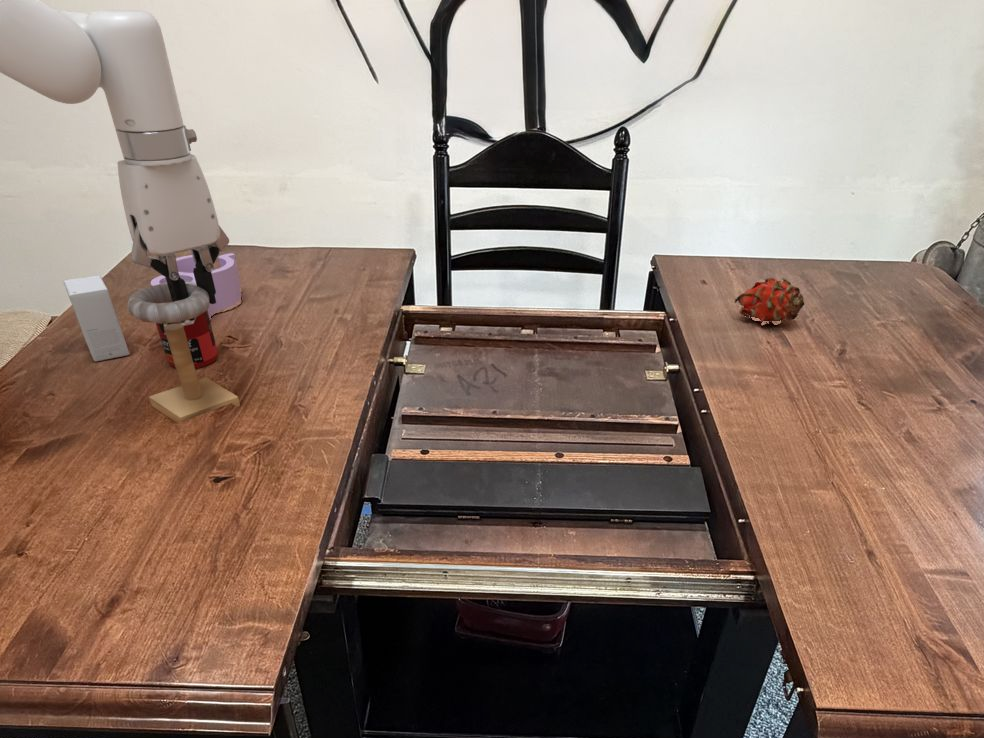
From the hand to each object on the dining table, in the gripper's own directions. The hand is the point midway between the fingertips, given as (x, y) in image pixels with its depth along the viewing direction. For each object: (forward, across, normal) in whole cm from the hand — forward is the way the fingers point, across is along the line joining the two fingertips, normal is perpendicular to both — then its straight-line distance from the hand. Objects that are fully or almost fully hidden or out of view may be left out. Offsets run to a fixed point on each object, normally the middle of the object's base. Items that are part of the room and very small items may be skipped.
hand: (196, 303), depth 96 cm
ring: (-1, +4, 0) cm, 4 cm away
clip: (+14, -17, -35) cm, 41 cm away
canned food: (+14, -4, -15) cm, 21 cm away
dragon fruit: (+14, -86, +43) cm, 97 cm away
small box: (+14, +4, -28) cm, 31 cm away
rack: (+14, +4, 0) cm, 14 cm away
